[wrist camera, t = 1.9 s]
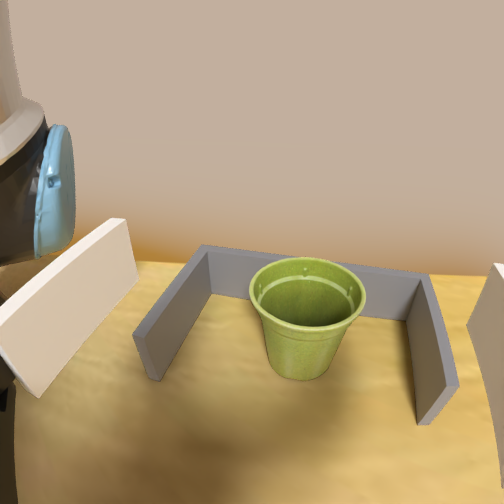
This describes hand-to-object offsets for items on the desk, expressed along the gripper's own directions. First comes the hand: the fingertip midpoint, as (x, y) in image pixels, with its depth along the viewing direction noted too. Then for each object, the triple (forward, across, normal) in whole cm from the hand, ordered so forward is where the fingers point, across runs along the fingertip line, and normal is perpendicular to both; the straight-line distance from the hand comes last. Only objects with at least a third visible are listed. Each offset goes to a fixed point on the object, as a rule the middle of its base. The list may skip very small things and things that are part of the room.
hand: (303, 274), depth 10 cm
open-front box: (+13, 0, -18) cm, 22 cm away
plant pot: (+12, 0, -18) cm, 22 cm away
